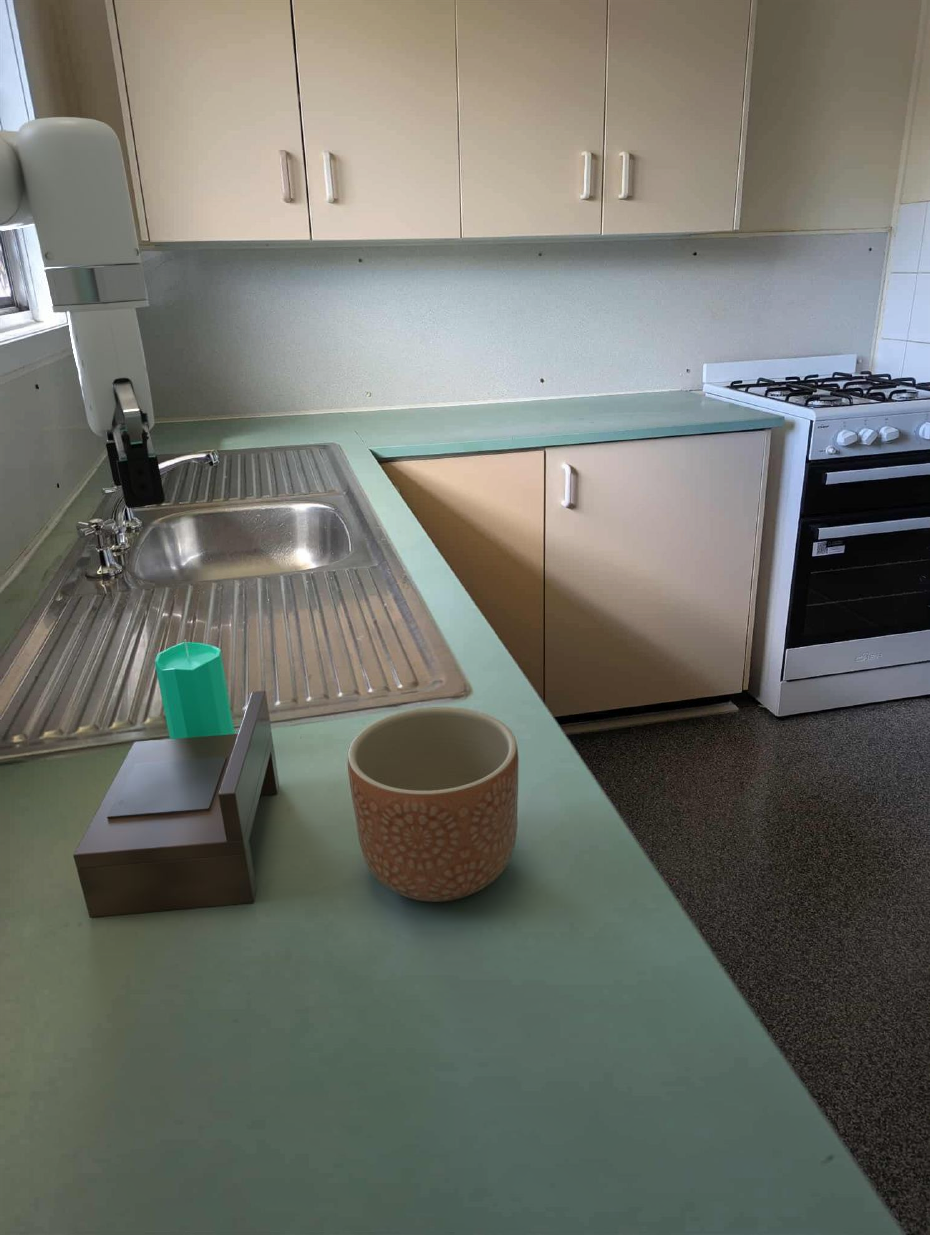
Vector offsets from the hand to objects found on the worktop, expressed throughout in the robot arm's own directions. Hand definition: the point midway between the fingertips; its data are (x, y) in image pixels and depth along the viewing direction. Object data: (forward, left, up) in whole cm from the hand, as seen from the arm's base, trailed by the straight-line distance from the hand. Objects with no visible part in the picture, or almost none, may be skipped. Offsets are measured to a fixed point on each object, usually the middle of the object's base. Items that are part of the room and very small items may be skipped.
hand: (138, 493), depth 79 cm
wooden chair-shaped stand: (+5, -18, -25) cm, 31 cm away
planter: (+25, -24, -26) cm, 43 cm away
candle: (+3, -3, -26) cm, 26 cm away
